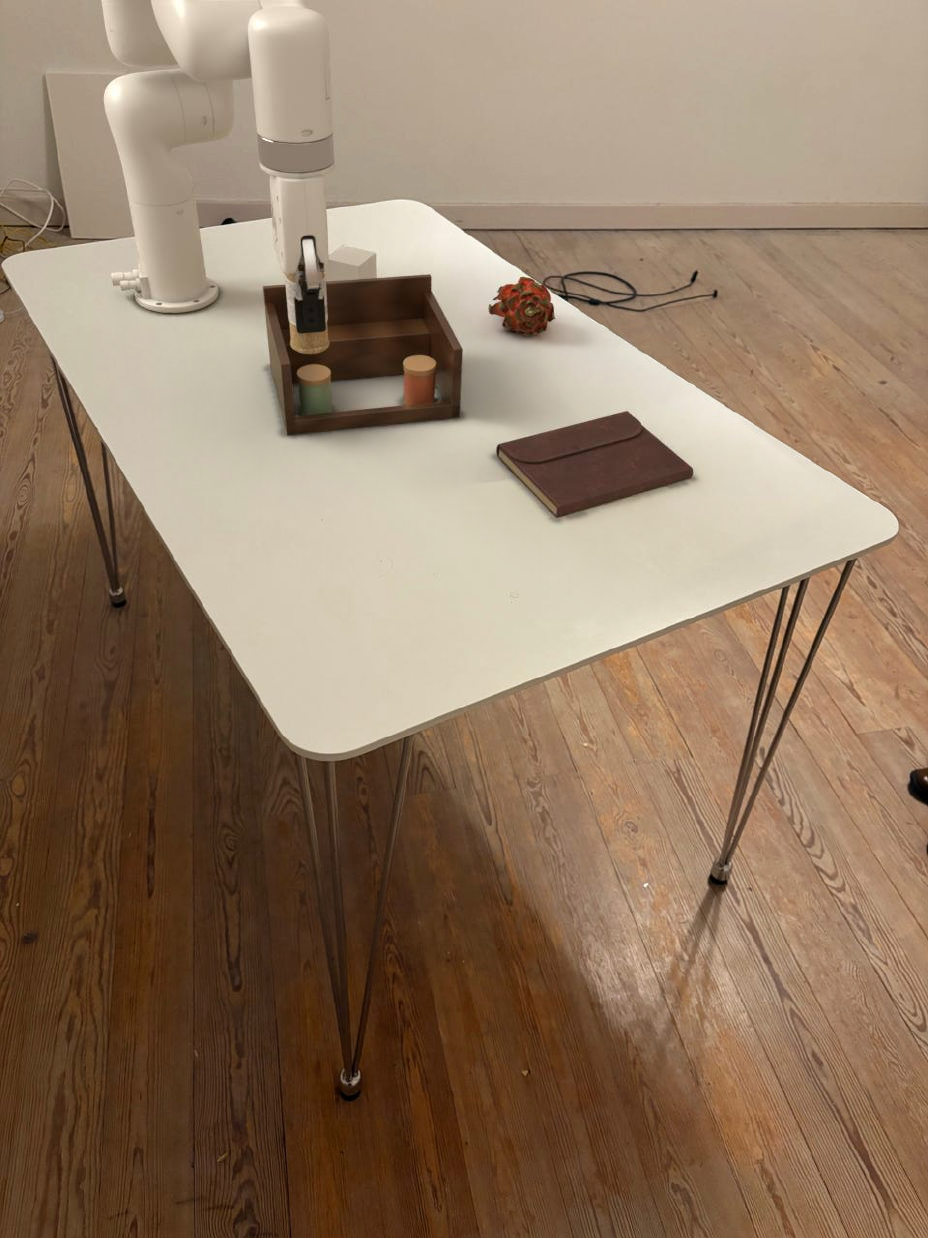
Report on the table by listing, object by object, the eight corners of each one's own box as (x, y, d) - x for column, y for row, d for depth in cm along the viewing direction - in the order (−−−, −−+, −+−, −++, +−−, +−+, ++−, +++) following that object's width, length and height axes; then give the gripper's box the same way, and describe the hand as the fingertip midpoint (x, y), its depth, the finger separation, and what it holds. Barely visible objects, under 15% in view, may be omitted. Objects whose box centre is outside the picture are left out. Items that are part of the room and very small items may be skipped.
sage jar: (302, 423, 133) (299, 382, 129) (297, 406, 136) (294, 365, 132) (335, 419, 134) (333, 378, 130) (330, 402, 137) (328, 362, 133)
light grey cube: (326, 295, 161) (323, 258, 157) (344, 281, 165) (342, 244, 161) (359, 303, 159) (358, 265, 155) (377, 288, 163) (376, 252, 159)
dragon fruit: (539, 358, 151) (497, 335, 160) (578, 316, 151) (534, 296, 160) (511, 319, 146) (469, 298, 154) (551, 275, 145) (507, 256, 154)
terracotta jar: (406, 412, 136) (407, 372, 132) (400, 396, 139) (399, 356, 135) (438, 409, 137) (439, 369, 132) (431, 393, 140) (432, 353, 136)
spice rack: (287, 435, 130) (279, 349, 122) (270, 367, 143) (262, 285, 135) (459, 417, 135) (463, 333, 127) (428, 353, 148) (430, 273, 140)
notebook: (692, 479, 126) (695, 466, 125) (557, 519, 119) (559, 505, 118) (623, 421, 136) (625, 408, 135) (495, 455, 129) (496, 441, 127)
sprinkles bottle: (315, 333, 119) (308, 218, 110) (337, 348, 116) (332, 231, 107) (282, 344, 116) (271, 227, 107) (303, 359, 114) (295, 241, 105)
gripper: (249, 125, 107) (265, 291, 119) (268, 182, 95) (284, 359, 107) (320, 123, 109) (328, 286, 121) (348, 178, 97) (354, 353, 109)
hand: (307, 319), depth 114 cm, fingers closed on sprinkles bottle, 4 cm apart
